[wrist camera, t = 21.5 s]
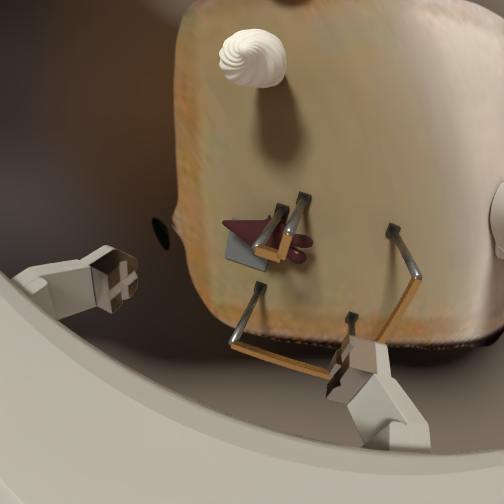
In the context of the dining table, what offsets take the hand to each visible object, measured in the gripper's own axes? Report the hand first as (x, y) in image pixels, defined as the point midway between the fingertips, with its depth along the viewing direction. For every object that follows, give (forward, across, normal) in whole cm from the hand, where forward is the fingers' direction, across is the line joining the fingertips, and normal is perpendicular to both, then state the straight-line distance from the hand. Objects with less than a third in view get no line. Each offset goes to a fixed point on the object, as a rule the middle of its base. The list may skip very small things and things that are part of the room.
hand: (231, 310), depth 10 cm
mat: (+37, +7, +16) cm, 41 cm away
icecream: (+33, +12, +12) cm, 37 cm away
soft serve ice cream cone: (+37, +10, -14) cm, 41 cm away
